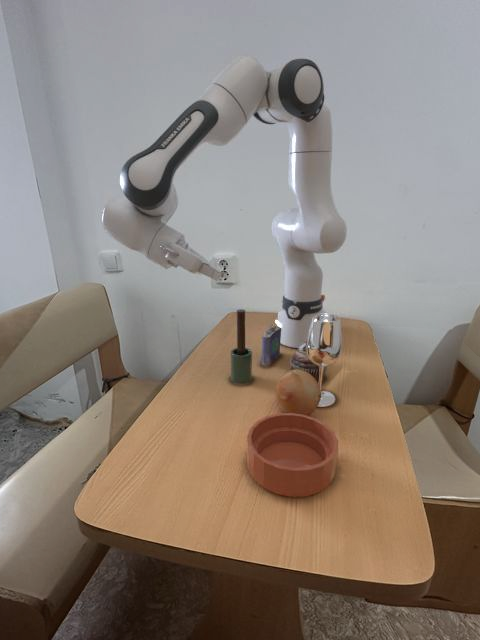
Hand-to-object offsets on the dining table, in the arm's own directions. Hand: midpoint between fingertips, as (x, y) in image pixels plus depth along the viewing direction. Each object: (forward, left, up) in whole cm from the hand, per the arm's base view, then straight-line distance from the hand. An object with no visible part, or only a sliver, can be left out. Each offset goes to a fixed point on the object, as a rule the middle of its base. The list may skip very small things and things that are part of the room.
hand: (221, 278), depth 87 cm
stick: (0, +5, -25) cm, 26 cm away
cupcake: (-10, +19, -26) cm, 34 cm away
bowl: (+22, +29, -26) cm, 45 cm away
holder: (0, +5, -26) cm, 26 cm away
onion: (+6, +23, -26) cm, 35 cm away
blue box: (-14, +6, -26) cm, 30 cm away
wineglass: (-2, +25, -26) cm, 36 cm away
